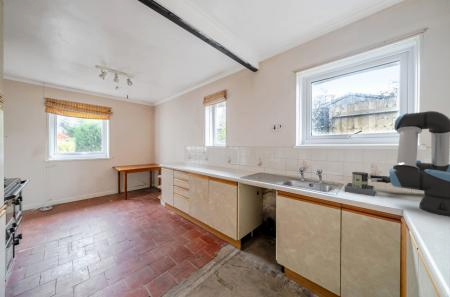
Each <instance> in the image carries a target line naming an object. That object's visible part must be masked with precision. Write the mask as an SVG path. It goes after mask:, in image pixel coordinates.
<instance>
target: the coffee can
mask: <svg viewBox="0 0 450 297" xmlns="http://www.w3.org/2000/svg"><path fill="white" fill-rule="evenodd" d="M351 173H352V174H351V177H352V178H351V179H352V180H351V181H352V182H351V183H352V187H355V188H362V189H368V185H369V179H368V175H369V173H368V172H362V171H352V172H351Z"/></svg>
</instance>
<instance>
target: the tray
mask: <svg viewBox="0 0 450 297" xmlns="http://www.w3.org/2000/svg"><path fill="white" fill-rule="evenodd" d="M375 190H376V186H375V185H370V184H368V189H362V188H355V187H352V182H347V183H346V184H345V185H344V192H349V193H353V194H354V193H355V194H362V195H368V196H375V192H376V191H375Z"/></svg>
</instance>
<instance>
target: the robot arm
mask: <svg viewBox="0 0 450 297" xmlns="http://www.w3.org/2000/svg"><path fill="white" fill-rule="evenodd" d="M393 129H394V131H396V132H397V133H398V134H399V139H398V149H397V159H396V164H395V165H393V167H392V168H389V171H388V173H389V176H387V175H374V174H373V175H372V174H368V180H371V183H384V184H391V185H392V186H393V187H395V188H401V189H408V190H415V191H423V192H424V193H423V197H422V198H421V200H420V202H419V206H418V207H419V209H421V210H423V211H425V212H428V213H433V214H436V215H442V216H448V217H450V163H449V162H450V118H449V117H448V116H447V115H446V114H444V113H443V112H439V111H432V110H429V111H428V110H427V111H421V112H413V113H412V112H411V113H408V112H407V113H401V114H399V115H397V116H396V118H395V120H394V128H393ZM423 130H428V133H431V134H430V137H431V138H430V146H431V147H430V151H431V152H430V154H431V156H430V159H431V161H430V162H431V163H429V162H428V163H427V162H421V160H418V158H417V157H418V156H417V155H418V147H419V134H421V133H422V132H423Z"/></svg>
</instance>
